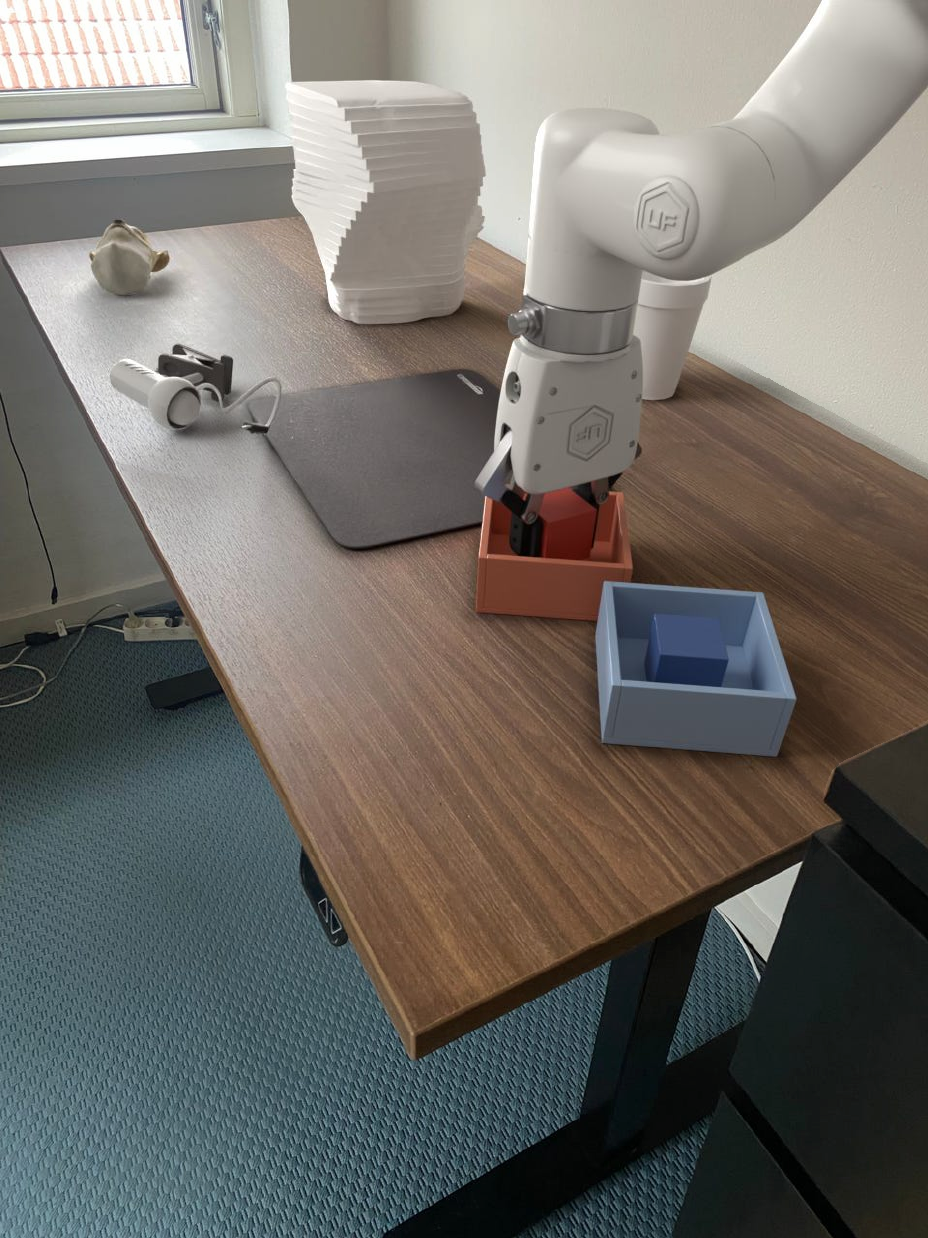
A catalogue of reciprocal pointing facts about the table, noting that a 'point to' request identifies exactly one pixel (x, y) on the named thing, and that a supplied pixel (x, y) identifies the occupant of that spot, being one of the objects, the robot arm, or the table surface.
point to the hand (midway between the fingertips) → (551, 547)
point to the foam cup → (666, 329)
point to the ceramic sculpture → (125, 259)
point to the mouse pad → (388, 453)
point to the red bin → (551, 568)
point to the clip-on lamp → (183, 386)
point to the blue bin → (689, 714)
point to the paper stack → (388, 193)
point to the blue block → (686, 651)
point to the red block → (566, 525)
